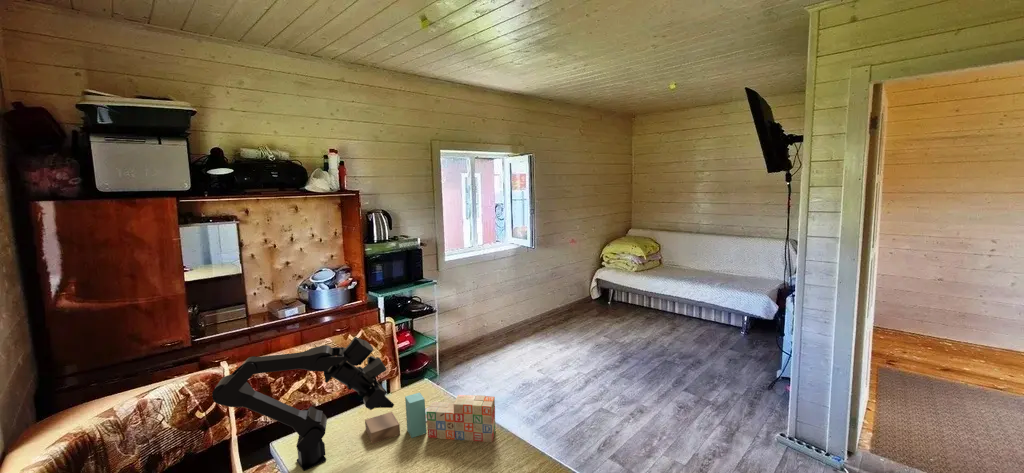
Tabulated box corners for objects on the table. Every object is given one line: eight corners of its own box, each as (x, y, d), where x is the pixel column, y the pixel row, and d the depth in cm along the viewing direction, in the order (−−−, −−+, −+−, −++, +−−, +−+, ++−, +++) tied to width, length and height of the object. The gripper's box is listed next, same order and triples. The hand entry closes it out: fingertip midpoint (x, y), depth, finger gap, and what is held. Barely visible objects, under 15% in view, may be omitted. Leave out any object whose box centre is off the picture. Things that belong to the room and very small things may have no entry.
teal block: (411, 438, 138) (409, 403, 136) (407, 430, 142) (405, 396, 140) (426, 433, 140) (424, 398, 139) (421, 425, 145) (419, 392, 143)
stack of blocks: (427, 438, 138) (425, 402, 136) (433, 427, 144) (431, 392, 142) (492, 442, 135) (491, 406, 133) (496, 430, 141) (494, 395, 139)
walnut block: (372, 444, 135) (371, 433, 135) (365, 430, 143) (364, 419, 142) (400, 435, 140) (399, 424, 139) (392, 422, 147) (391, 411, 147)
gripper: (374, 364, 123) (414, 390, 129) (362, 343, 139) (398, 367, 146) (348, 397, 120) (390, 422, 127) (338, 372, 136) (376, 395, 143)
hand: (389, 399), depth 136 cm, fingers open, 9 cm apart
